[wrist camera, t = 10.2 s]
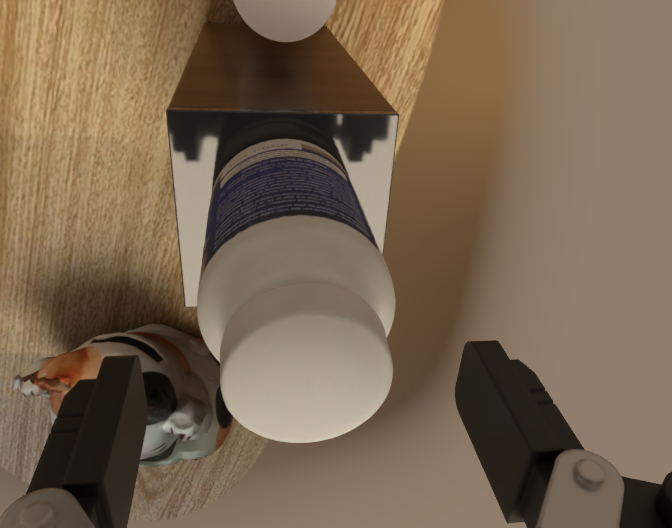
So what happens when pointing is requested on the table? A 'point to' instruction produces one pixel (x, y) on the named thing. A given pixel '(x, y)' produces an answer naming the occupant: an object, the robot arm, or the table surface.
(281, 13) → the tube
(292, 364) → the pill bottle
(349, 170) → the slate coaster
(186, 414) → the lucky cat figurine
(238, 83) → the walnut plinth
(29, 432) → the table surface
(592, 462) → the robot arm
